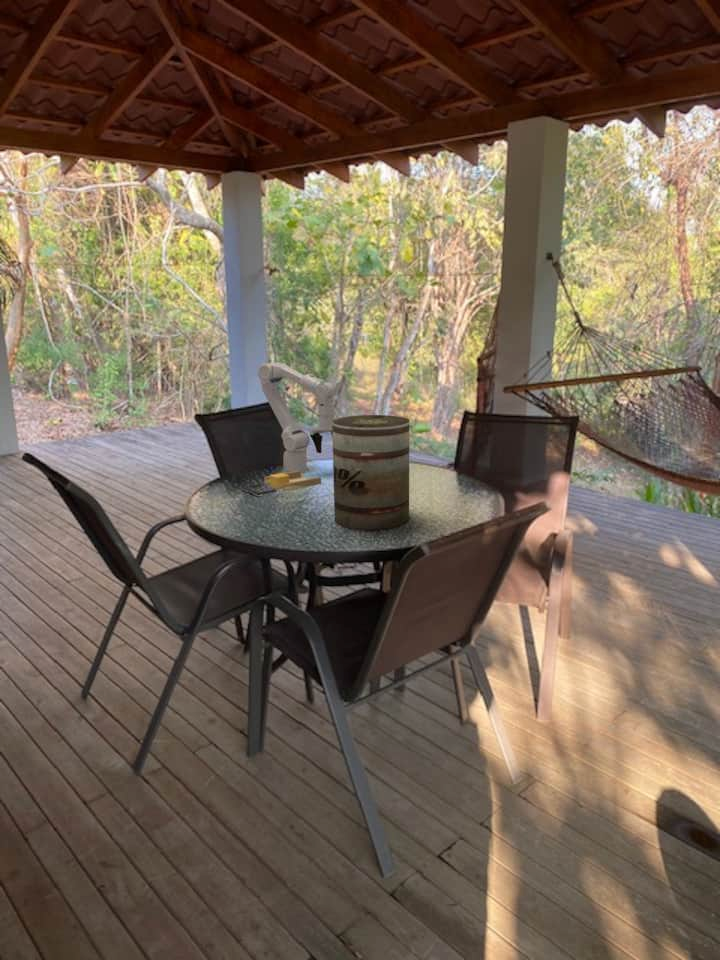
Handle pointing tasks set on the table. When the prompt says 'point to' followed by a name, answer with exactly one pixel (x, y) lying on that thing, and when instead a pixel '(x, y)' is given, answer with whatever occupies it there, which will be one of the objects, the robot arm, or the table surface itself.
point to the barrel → (371, 472)
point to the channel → (297, 481)
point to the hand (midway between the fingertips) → (327, 451)
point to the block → (279, 480)
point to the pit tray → (256, 491)
